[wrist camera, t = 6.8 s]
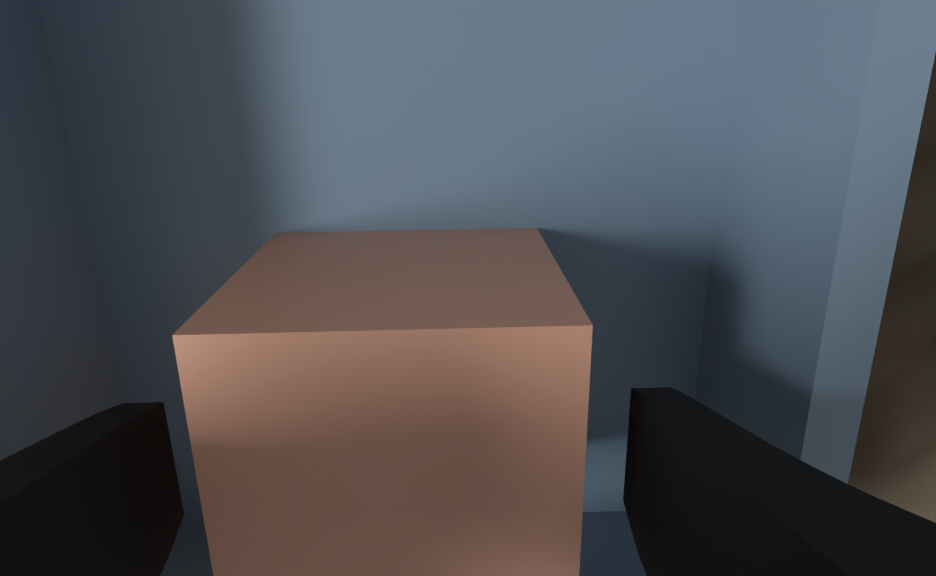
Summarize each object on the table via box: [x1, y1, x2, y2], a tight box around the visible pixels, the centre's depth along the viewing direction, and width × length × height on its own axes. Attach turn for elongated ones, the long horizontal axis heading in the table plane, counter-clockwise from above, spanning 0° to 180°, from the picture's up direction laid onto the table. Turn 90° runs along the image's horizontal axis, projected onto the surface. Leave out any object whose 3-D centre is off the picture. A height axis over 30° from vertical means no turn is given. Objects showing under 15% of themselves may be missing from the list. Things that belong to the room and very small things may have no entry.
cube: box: [172, 228, 593, 576], centre depth 11 cm, size 5×5×5 cm
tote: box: [0, 0, 936, 576], centre depth 11 cm, size 18×14×5 cm
